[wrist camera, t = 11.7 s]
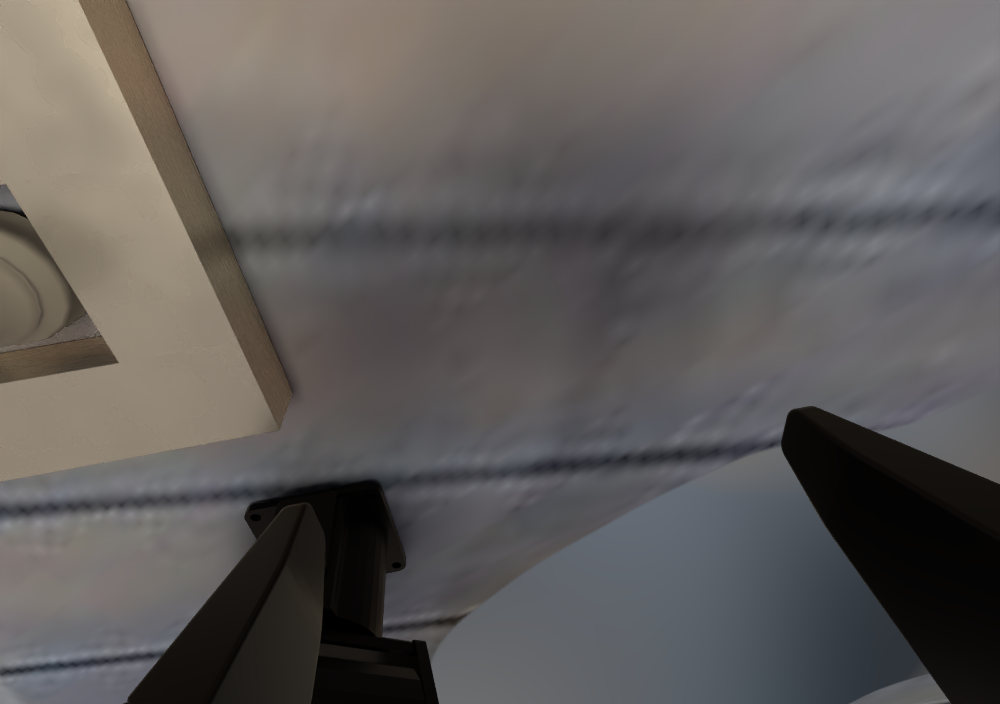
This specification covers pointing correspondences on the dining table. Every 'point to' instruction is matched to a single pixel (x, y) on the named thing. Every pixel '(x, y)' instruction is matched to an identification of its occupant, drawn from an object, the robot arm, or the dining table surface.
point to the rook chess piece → (31, 286)
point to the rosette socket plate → (120, 256)
